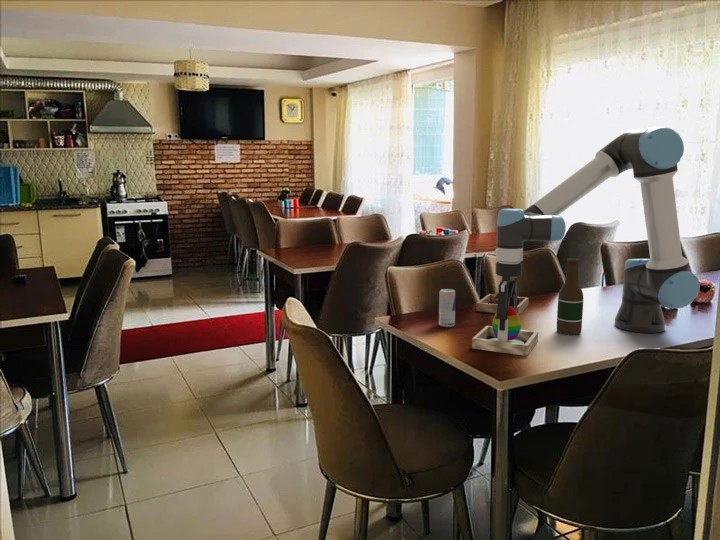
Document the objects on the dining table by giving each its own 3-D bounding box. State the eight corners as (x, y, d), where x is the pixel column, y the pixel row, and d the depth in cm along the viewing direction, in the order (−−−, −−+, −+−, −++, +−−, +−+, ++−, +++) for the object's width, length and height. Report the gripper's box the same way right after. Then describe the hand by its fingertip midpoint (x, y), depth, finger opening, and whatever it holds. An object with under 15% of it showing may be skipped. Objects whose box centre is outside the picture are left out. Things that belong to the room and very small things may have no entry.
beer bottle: (578, 337, 185) (583, 261, 181) (553, 333, 189) (557, 259, 185) (583, 331, 192) (588, 258, 188) (559, 328, 196) (563, 256, 192)
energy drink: (456, 324, 201) (457, 289, 199) (452, 328, 196) (453, 292, 194) (441, 322, 203) (442, 288, 201) (436, 326, 198) (437, 291, 196)
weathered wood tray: (528, 305, 228) (528, 297, 228) (518, 315, 213) (518, 307, 212) (488, 301, 235) (488, 293, 234) (476, 310, 220) (476, 302, 219)
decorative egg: (488, 334, 181) (490, 302, 179) (515, 333, 181) (516, 301, 180) (495, 341, 173) (497, 308, 171) (523, 341, 173) (525, 308, 172)
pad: (527, 342, 180) (527, 340, 180) (520, 352, 170) (520, 350, 170) (492, 337, 185) (492, 335, 185) (482, 347, 175) (482, 345, 175)
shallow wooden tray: (537, 341, 181) (538, 331, 181) (527, 355, 167) (527, 345, 167) (486, 334, 188) (486, 325, 188) (471, 348, 174) (472, 338, 174)
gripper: (504, 256, 184) (501, 327, 188) (486, 266, 166) (484, 344, 170) (529, 257, 181) (525, 329, 185) (513, 268, 162) (510, 347, 166)
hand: (505, 336), depth 177 cm, fingers closed on decorative egg, 8 cm apart
